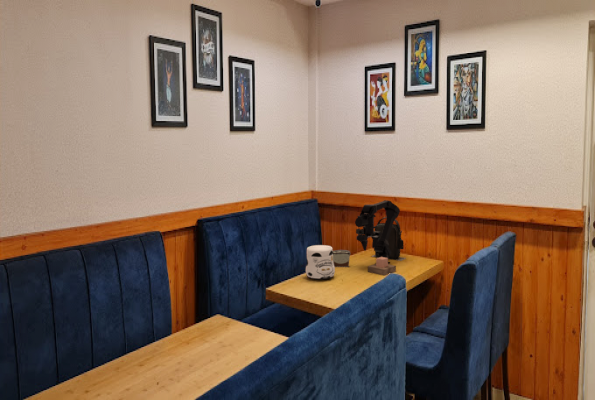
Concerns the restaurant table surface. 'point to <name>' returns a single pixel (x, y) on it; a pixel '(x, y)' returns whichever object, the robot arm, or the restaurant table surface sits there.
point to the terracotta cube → (382, 262)
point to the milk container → (320, 262)
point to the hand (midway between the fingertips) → (369, 249)
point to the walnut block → (381, 269)
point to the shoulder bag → (392, 240)
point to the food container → (341, 258)
